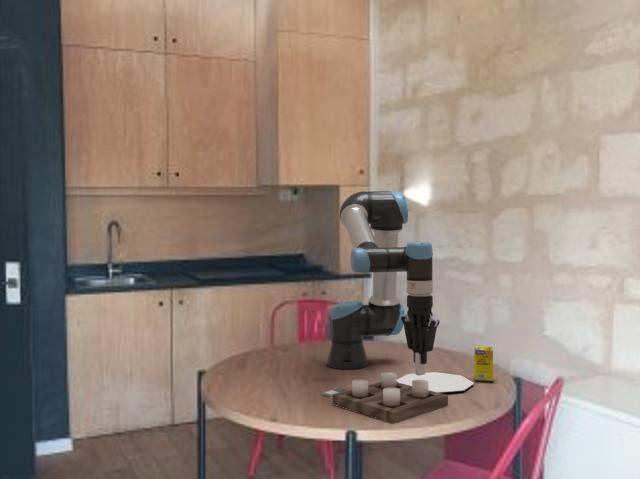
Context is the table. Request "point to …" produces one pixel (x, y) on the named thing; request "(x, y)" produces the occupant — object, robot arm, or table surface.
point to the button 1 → (360, 388)
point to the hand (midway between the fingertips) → (420, 374)
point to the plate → (439, 382)
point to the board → (392, 414)
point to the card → (334, 391)
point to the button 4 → (419, 388)
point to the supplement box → (483, 364)
